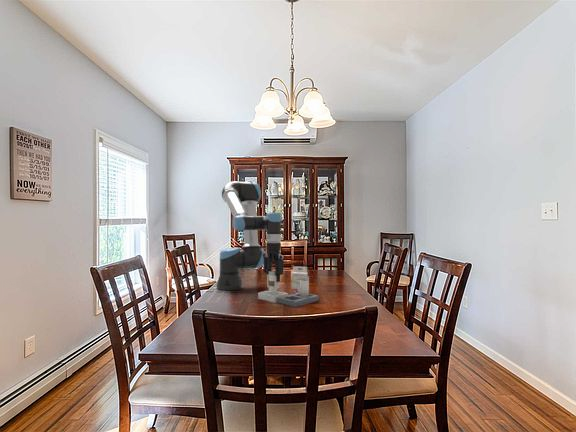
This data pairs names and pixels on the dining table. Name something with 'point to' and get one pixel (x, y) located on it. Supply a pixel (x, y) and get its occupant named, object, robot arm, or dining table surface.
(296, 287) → the grey stepped block
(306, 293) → the fuse
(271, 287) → the fuse
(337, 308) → the dining table surface
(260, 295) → the parts tray
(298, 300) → the fuse panel
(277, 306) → the dining table surface
